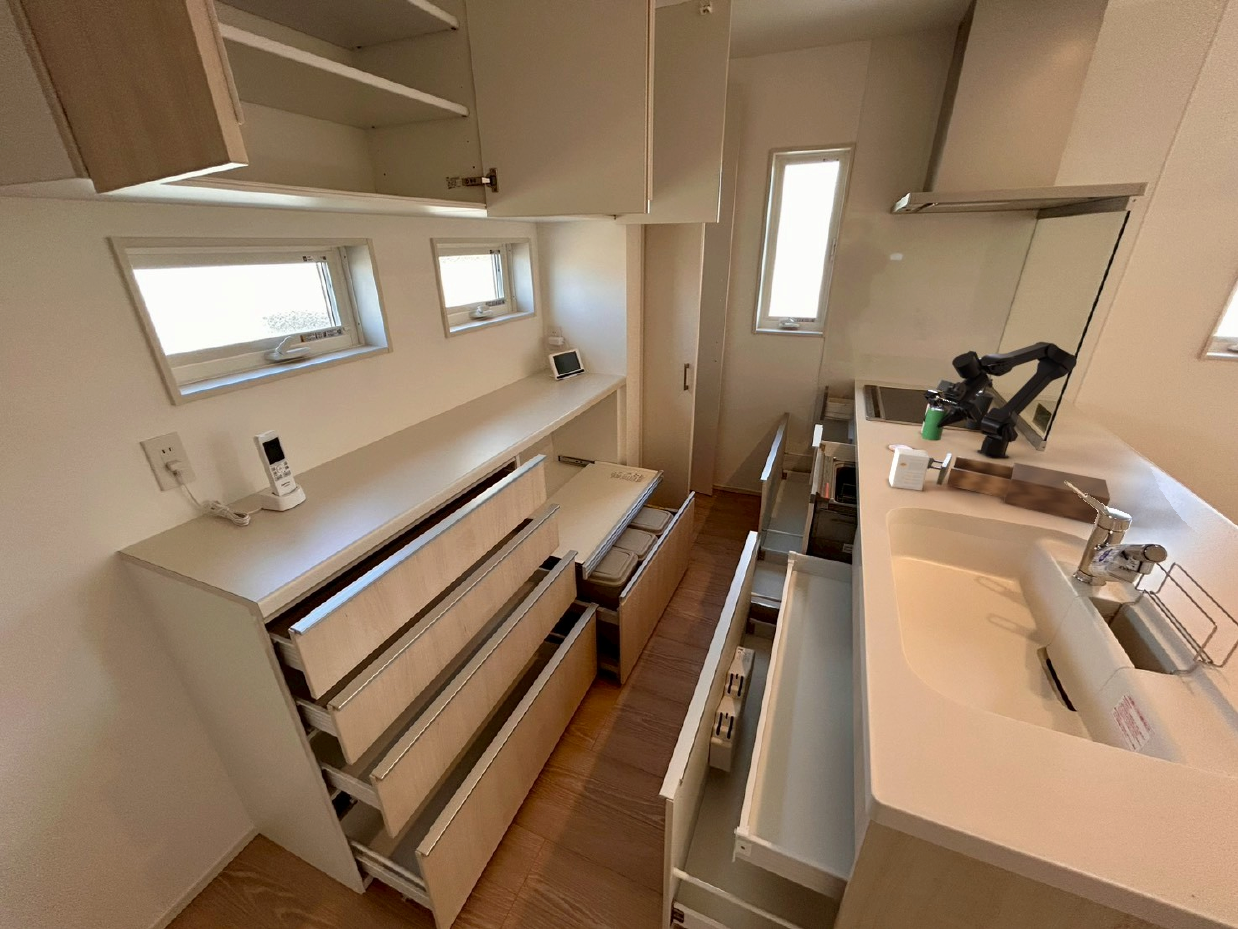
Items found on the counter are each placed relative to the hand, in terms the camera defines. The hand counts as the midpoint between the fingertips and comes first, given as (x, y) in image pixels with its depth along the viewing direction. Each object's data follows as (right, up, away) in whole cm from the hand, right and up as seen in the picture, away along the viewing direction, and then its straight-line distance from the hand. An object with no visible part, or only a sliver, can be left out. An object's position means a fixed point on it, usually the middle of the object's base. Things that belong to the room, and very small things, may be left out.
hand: (930, 424), depth 158 cm
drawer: (+3, -18, -13) cm, 23 cm away
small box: (-15, -19, -12) cm, 27 cm away
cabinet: (+17, -24, -24) cm, 38 cm away
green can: (+1, -4, +2) cm, 5 cm away
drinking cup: (+40, +1, +37) cm, 54 cm away
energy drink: (+18, -1, +30) cm, 35 cm away
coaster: (-1, -7, +15) cm, 17 cm away
